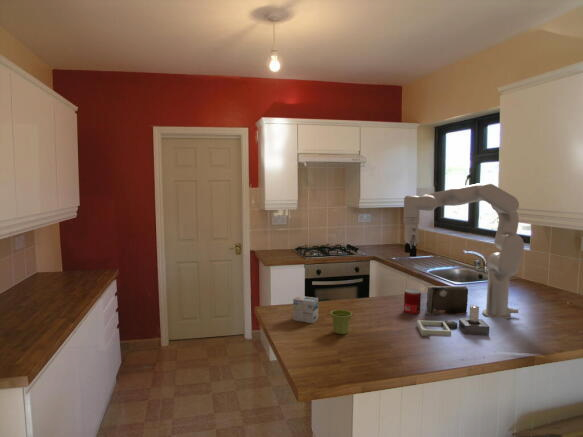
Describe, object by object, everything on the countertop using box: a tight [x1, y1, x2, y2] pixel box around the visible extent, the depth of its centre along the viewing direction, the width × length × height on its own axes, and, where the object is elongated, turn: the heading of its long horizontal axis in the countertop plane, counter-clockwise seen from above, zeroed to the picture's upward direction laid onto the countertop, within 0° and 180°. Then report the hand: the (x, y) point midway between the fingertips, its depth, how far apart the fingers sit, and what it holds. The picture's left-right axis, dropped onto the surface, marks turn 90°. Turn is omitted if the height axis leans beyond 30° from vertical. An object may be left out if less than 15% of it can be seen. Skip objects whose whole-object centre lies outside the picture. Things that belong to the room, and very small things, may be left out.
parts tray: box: [416, 319, 452, 337], centre depth 178 cm, size 12×12×3 cm
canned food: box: [403, 288, 422, 315], centre depth 204 cm, size 8×8×11 cm
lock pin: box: [468, 305, 480, 325], centre depth 176 cm, size 4×4×11 cm
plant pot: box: [330, 309, 353, 335], centre depth 177 cm, size 9×9×9 cm
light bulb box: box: [292, 295, 319, 324], centre depth 192 cm, size 11×7×11 cm, turn 65°
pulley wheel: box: [440, 319, 459, 330], centre depth 182 cm, size 7×7×3 cm
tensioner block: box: [458, 317, 490, 337], centre depth 176 cm, size 10×9×5 cm
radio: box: [424, 285, 469, 317], centre depth 201 cm, size 23×9×15 cm, turn 99°
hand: (410, 254), depth 200 cm, fingers open, 9 cm apart
